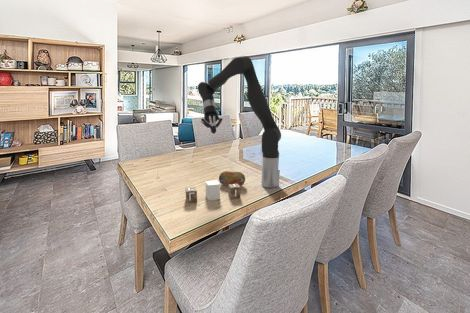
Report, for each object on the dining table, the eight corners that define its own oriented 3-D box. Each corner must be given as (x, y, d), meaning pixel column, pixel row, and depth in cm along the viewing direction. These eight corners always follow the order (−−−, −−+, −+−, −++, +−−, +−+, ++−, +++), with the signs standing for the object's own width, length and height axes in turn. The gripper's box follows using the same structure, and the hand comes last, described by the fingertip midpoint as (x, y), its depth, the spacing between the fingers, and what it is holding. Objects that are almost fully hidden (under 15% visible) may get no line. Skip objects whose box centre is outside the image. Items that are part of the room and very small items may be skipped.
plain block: (217, 194, 141) (216, 180, 139) (219, 199, 136) (219, 184, 134) (205, 195, 139) (205, 181, 137) (208, 200, 134) (208, 185, 132)
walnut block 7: (195, 198, 136) (195, 186, 135) (197, 202, 131) (196, 190, 130) (185, 199, 135) (185, 187, 133) (186, 203, 130) (186, 191, 129)
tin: (218, 185, 155) (218, 171, 153) (220, 183, 158) (220, 169, 156) (244, 187, 151) (244, 173, 149) (245, 185, 154) (245, 171, 152)
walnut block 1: (237, 194, 142) (237, 183, 140) (240, 198, 137) (240, 186, 135) (228, 195, 140) (228, 184, 139) (230, 199, 136) (230, 187, 134)
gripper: (199, 104, 155) (202, 129, 146) (221, 104, 158) (226, 128, 150) (198, 113, 161) (201, 137, 153) (219, 113, 165) (224, 136, 156)
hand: (213, 132), depth 151 cm, fingers closed
